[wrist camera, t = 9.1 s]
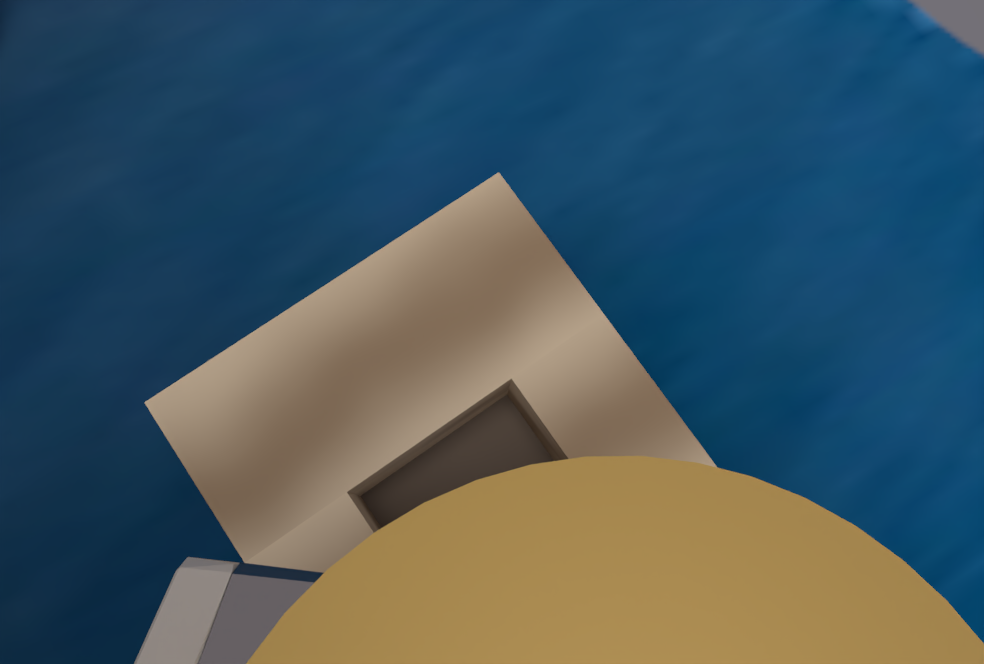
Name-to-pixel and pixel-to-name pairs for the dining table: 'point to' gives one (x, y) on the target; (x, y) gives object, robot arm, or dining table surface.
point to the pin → (620, 579)
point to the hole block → (412, 388)
